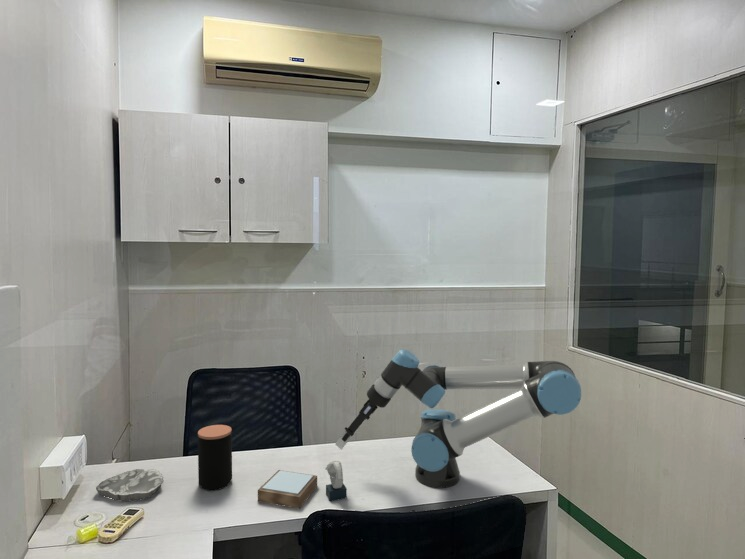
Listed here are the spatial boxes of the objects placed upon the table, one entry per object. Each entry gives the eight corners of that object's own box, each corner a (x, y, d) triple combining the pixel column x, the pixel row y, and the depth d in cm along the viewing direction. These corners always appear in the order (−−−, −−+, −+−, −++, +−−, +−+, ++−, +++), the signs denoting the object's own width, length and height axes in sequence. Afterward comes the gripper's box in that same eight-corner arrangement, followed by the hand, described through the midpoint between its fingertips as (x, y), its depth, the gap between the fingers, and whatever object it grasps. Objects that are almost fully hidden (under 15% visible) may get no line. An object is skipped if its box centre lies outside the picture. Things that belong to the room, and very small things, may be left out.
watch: (340, 488, 156) (340, 455, 156) (348, 500, 149) (348, 466, 148) (324, 491, 155) (324, 458, 154) (330, 504, 147) (330, 469, 146)
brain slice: (175, 478, 163) (175, 470, 162) (148, 505, 146) (148, 496, 146) (119, 476, 164) (119, 468, 164) (86, 502, 147) (86, 493, 147)
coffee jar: (238, 483, 159) (237, 430, 158) (208, 495, 152) (207, 439, 150) (221, 472, 167) (221, 422, 165) (192, 483, 159) (191, 430, 158)
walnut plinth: (317, 486, 158) (317, 474, 157) (299, 508, 144) (299, 495, 144) (278, 480, 162) (278, 468, 161) (257, 501, 148) (257, 488, 148)
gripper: (383, 373, 167) (349, 418, 172) (362, 394, 143) (323, 445, 148) (400, 387, 166) (365, 432, 170) (381, 411, 142) (341, 462, 146)
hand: (345, 438), depth 159 cm, fingers open, 13 cm apart
